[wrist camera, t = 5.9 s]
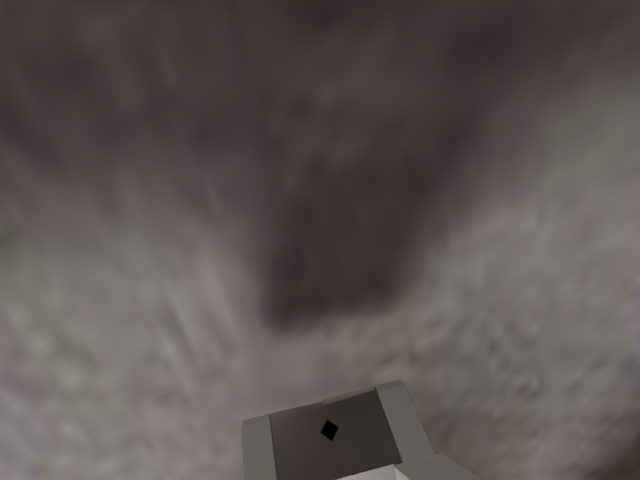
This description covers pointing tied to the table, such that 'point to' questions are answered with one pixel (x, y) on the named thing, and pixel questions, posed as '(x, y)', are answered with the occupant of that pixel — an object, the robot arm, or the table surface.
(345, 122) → the table surface
